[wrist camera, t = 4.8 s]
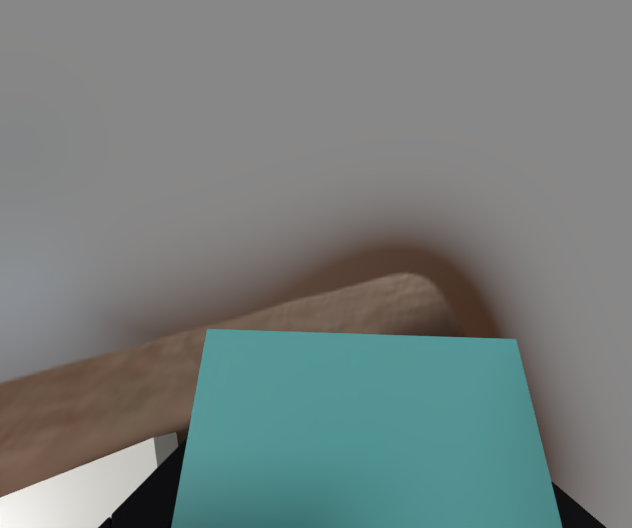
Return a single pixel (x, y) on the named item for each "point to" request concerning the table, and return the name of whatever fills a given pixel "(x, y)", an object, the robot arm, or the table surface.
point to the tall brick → (362, 434)
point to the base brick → (86, 489)
